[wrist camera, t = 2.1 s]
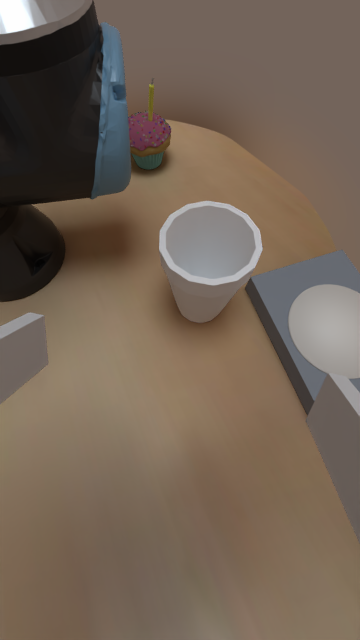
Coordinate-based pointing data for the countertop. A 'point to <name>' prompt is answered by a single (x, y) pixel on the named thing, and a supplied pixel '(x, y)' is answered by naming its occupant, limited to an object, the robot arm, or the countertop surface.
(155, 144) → the cupcake
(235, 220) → the foam cup
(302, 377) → the pedestal
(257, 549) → the countertop surface
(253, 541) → the countertop surface
